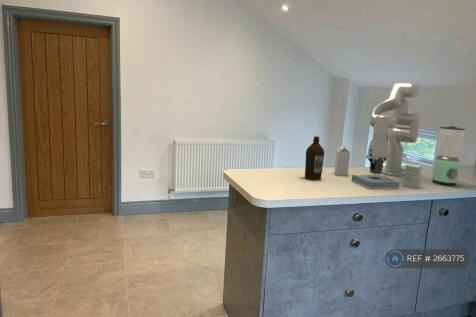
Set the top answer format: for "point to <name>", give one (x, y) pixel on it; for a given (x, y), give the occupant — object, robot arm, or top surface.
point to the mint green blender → (448, 155)
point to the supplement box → (412, 176)
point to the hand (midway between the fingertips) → (376, 169)
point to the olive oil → (314, 160)
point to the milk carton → (342, 161)
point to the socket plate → (375, 181)
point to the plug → (377, 167)
